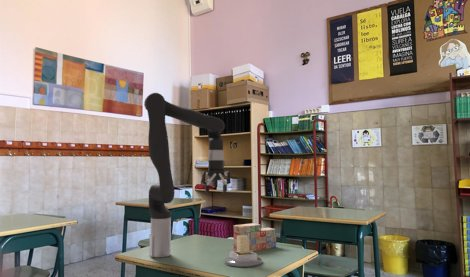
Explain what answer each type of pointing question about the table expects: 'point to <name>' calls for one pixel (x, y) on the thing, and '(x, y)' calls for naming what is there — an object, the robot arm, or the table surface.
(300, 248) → the table surface
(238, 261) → the gray round dish
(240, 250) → the wooden block
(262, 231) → the stack of blocks
